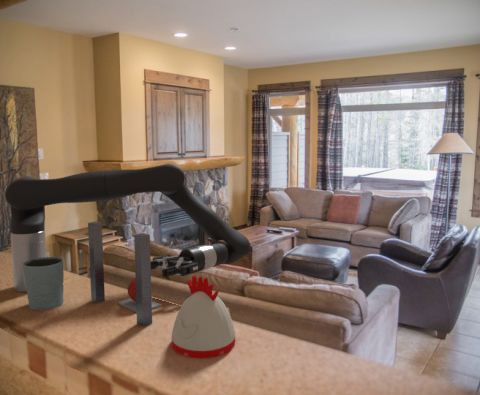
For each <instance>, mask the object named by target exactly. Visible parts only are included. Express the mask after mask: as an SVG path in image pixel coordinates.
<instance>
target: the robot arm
mask: <svg viewBox="0 0 480 395" xmlns="http://www.w3.org/2000/svg"><path fill="white" fill-rule="evenodd" d="M184 172H185V171H184V170H183V169H182V168H181V167H180V166H178V165H176V164H174V163H165V164H160V165H155V166H150V167H146V168H138V169H137V168H136V169H133V168H132V169H129V168H127V169H104V170H94V171H86V172H80V173H76V174H71V175H67V176H63V177H58V178H48V179H47V178H41V179H40V178H39V179H37V178H34V177H33V176H32V177H31V176H21V177H18V178H16V179H15V180H13V181H11V182H10V183H9V184H8V186H7V187H6V189H5V193H4V197H5V200H6V202H7V204H9V206H10V211H11V213H10V214H11V216H10V223H9V231H10V244H11V245H10V246H11V257H12V258H11V259H12V260H11V261H12V272H13V273H12V275H13V286H14V287H13V288H14V290H15V291H16V292H20V293H23V292H24V293H25V292H26V293H27V287H26V283H25V276H24V270H23V263H24V262H26V261H28V260H32V259H36V258H43V257H47V247H46V246H47V245H46V244H47V243H46V241H47V240H46V230H45V229H46V227H45V226H46V224H45V222H46V209H45V207H46V206H50V205H57V204H78V203H79V204H80V203H93V202H95V203H97V202H104V201H112V200H118V199H122V198H125V197H130V196H133V195H137V194H142V193H158V192H159V193H161V194H162V195H164V196H165V197H166V198H168V199H169V200H171V202H173V203H174V204H176V205H177V206H178V207H179V208H180V209H181V210H182V211H184V212H185V214H187V216H188V217H189V218H190V219H191V220H192V221H193V222H194V223H195V224H196V225H197V226H198V227H199V228H200V230H202V232H204V234H205V235H207V237H208V238H209V239H210V240H212V241H213V243H210V244H202V245H197V246H192V247H189V248H188V247H187V248H183V249H182V250H181V251H180V252H179V255H172V256H171V254H164V255H160V256H153V257H152V260H151V271H152V270H155V269H156V270H157V269H162V273H161V274H162V277H163V278H168V277H171V276H181V277H185V276H189V275H192V274H195V273H198V272H203V271H206V270H209V269H211V268H214V267H216V266H217V267H218V266H221V265H230V264H234V263H236V262H238V261H240V260H241V259H243V258H245V257H247V255H248V254H250V253H251V250H252V246H251V243H250V241H249V239H248V238H247V236H245V235H244V233H241V232H239V231H238V230H236V229H235V228H233V227H232V226H230V225H228V224H227V223H226V222H225V221H224V220H223V219H222V218H221V217H220V216H219V215H218V214H217V212H216V211H214V210H213V209H212V208H211V207H209V206H208V205H207V204H206V203H205V202H203V201H202V200H201V199H199V198H198V197H197V196H196V195H195V194H194V193H193V192H192V191H191V190H190V189H189V187H188V186H187V184H186V183H185V180H186V174H185V173H184ZM220 241H223V242H225V243H222V242H220Z"/></svg>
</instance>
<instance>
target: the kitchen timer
mask: <svg viewBox="0 0 480 395" xmlns="http://www.w3.org/2000/svg"><path fill="white" fill-rule="evenodd" d="M187 285H188V289H189V291H190V294H191V295H190V296H188V297H187V298H186V299H185V300H184V301H183V303H182V305H181V306H180V308H179V311H178V313H177V315H176V316H175V317H176V318H175V320H174V324H173V327H172V330H171V331H172V332H171V333H172V334H171V347H172V349H173V350H174V351H175V352H176V354H179V355H181V356H183V357H187V358H191V359H192V358H194V359H211V358H215V357H220V356H222V355H225V354H227V353H228V352H230V351H232V349H234V347H235V345H236V330H235V326H234V323H233V320H232V319H233V318H232V317H231V313H230V308H229V307H227V306H226V304H225V303H224V302H223V300H222V299H221V298H220V297H219V296H218V294H219V290H216V291H214V293H213V289H214V283H211V284H209V278H208V277H205V278H203V276H202V275H201V276H200V277H198V279H197V276H196V275H192V276H191V279H188V280H187Z"/></svg>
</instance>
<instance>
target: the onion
mask: <svg viewBox="0 0 480 395" xmlns="http://www.w3.org/2000/svg"><path fill="white" fill-rule="evenodd" d="M127 286H128V287H127V294H128V297H129V299H130V298H131V299H132V300H134V301H135V302H136V277H134V278H133V279H132V280H131V281H130V283H129V285H127Z"/></svg>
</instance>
